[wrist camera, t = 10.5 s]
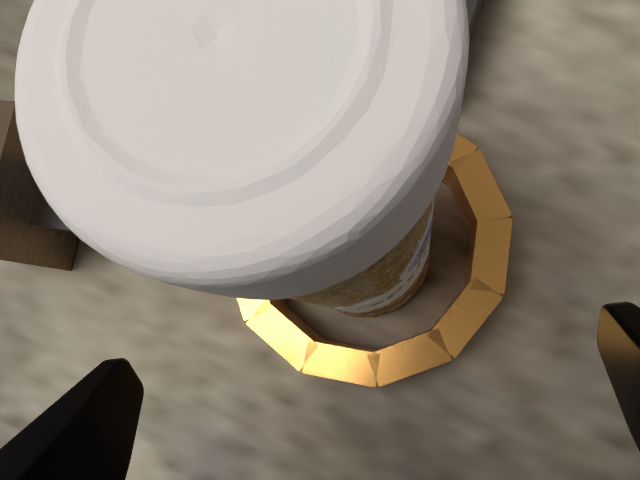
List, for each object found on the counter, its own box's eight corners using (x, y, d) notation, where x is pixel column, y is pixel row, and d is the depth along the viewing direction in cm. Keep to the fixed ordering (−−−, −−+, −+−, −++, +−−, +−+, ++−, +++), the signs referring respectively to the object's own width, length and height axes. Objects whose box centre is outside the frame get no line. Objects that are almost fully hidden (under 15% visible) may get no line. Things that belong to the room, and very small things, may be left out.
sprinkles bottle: (430, 319, 16) (482, 298, 3) (300, 314, 17) (-48, 282, 4) (430, 190, 17) (474, -229, 4) (305, 191, 18) (25, -149, 5)
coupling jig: (755, 244, 15) (889, 211, 11) (59, 498, 18) (-52, 552, 14) (514, -155, 19) (542, -294, 15) (-23, 107, 22) (-129, 54, 18)
